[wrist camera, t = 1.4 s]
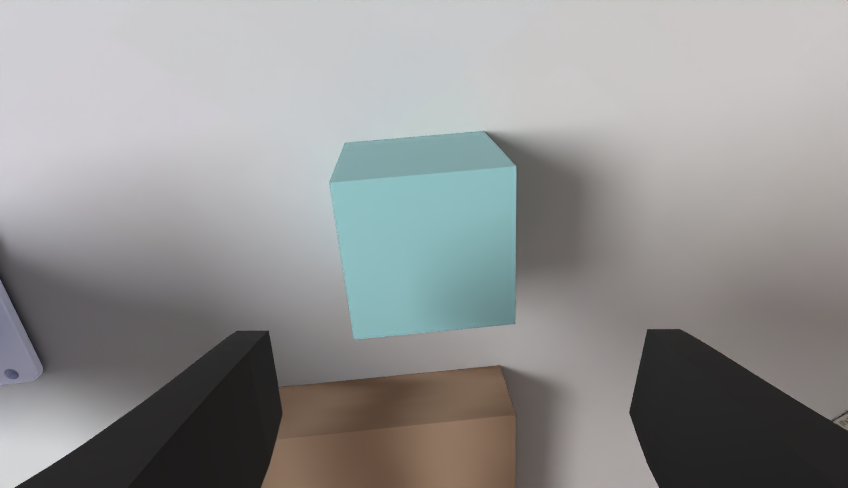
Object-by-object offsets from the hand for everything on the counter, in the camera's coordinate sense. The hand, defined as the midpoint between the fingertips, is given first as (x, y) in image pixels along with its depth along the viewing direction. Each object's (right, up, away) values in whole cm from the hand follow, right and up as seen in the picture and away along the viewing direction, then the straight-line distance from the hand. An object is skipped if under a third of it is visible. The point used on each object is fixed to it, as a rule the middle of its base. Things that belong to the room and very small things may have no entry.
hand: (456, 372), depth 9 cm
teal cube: (-1, +4, +9) cm, 10 cm away
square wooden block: (-3, -9, +15) cm, 18 cm away
